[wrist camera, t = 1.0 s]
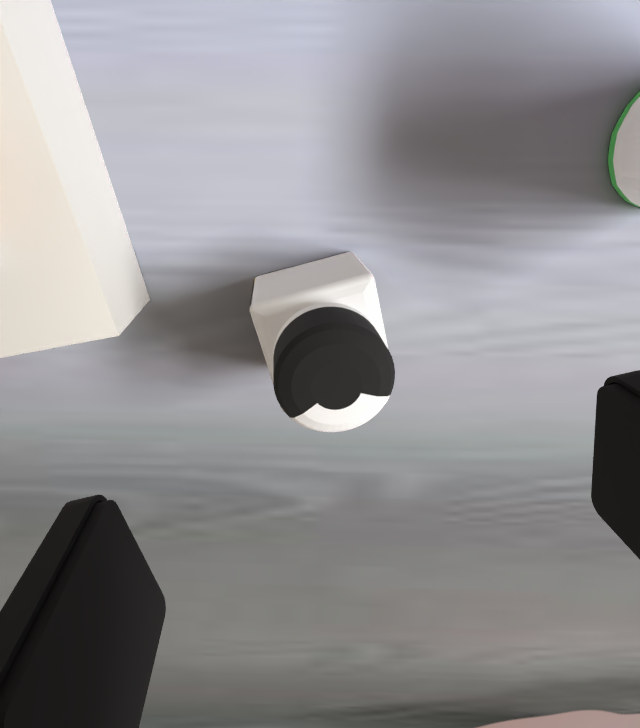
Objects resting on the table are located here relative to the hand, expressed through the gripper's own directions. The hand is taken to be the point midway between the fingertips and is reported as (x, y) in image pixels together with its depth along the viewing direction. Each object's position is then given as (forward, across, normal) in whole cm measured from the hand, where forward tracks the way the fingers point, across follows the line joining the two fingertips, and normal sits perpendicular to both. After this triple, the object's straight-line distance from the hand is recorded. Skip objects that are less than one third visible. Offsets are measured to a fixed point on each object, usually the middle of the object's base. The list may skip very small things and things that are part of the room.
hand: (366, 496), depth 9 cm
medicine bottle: (+25, 0, +4) cm, 25 cm away
